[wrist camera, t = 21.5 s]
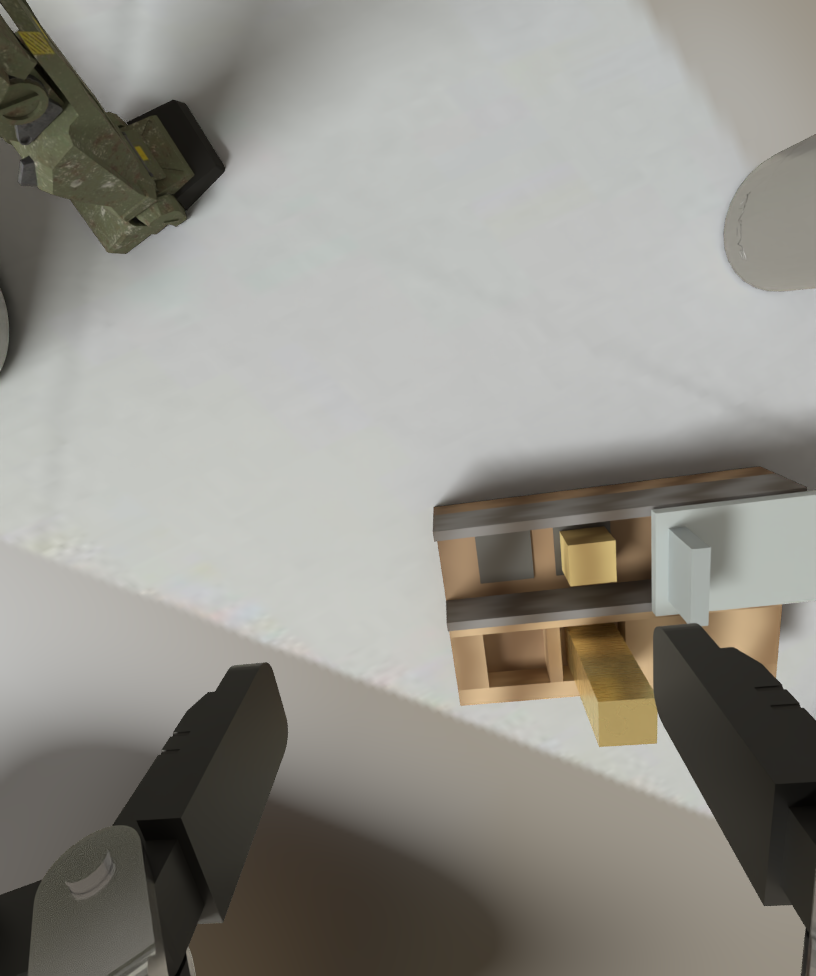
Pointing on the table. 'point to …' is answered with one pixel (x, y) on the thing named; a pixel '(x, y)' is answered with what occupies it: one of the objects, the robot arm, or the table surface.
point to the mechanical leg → (97, 142)
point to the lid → (733, 555)
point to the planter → (3, 330)
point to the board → (575, 580)
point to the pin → (611, 685)
